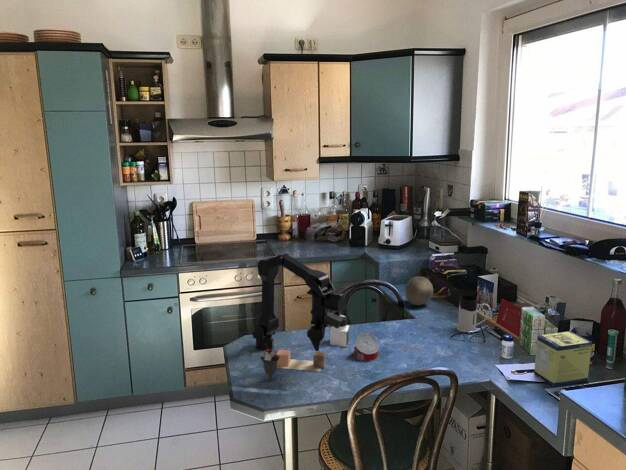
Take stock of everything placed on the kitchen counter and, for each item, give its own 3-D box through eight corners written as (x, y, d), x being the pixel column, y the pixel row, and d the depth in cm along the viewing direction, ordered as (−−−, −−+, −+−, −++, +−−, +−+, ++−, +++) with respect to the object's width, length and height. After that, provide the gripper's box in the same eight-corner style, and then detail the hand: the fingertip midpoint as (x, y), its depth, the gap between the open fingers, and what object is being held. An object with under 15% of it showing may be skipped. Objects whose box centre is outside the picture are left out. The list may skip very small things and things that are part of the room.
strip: (268, 369, 196) (268, 354, 195) (273, 360, 204) (273, 346, 202) (322, 373, 192) (322, 358, 191) (325, 364, 200) (325, 349, 199)
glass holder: (460, 324, 241) (462, 293, 238) (491, 330, 233) (493, 299, 230) (453, 329, 234) (455, 298, 231) (485, 337, 226) (487, 304, 223)
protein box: (588, 381, 187) (593, 341, 184) (553, 387, 183) (557, 346, 180) (566, 368, 197) (571, 330, 194) (532, 374, 193) (536, 335, 190)
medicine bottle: (346, 347, 216) (347, 320, 213) (330, 346, 217) (330, 319, 215) (349, 340, 223) (349, 314, 220) (332, 339, 224) (333, 313, 222)
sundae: (261, 379, 189) (260, 341, 185) (279, 378, 189) (279, 340, 186) (261, 388, 182) (260, 348, 179) (279, 387, 183) (279, 348, 180)
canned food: (375, 363, 212) (387, 344, 209) (367, 370, 203) (380, 351, 200) (353, 346, 216) (365, 327, 213) (344, 353, 207) (357, 333, 204)
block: (276, 365, 197) (276, 354, 196) (279, 360, 201) (278, 349, 200) (287, 366, 196) (287, 355, 195) (290, 361, 200) (290, 350, 200)
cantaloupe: (404, 308, 261) (405, 280, 258) (404, 299, 275) (405, 272, 272) (433, 310, 259) (434, 281, 256) (431, 301, 273) (433, 274, 269)
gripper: (337, 317, 181) (337, 358, 184) (343, 299, 199) (342, 337, 202) (306, 315, 183) (306, 355, 186) (315, 298, 201) (315, 335, 204)
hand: (319, 345), depth 195 cm, fingers open, 9 cm apart
